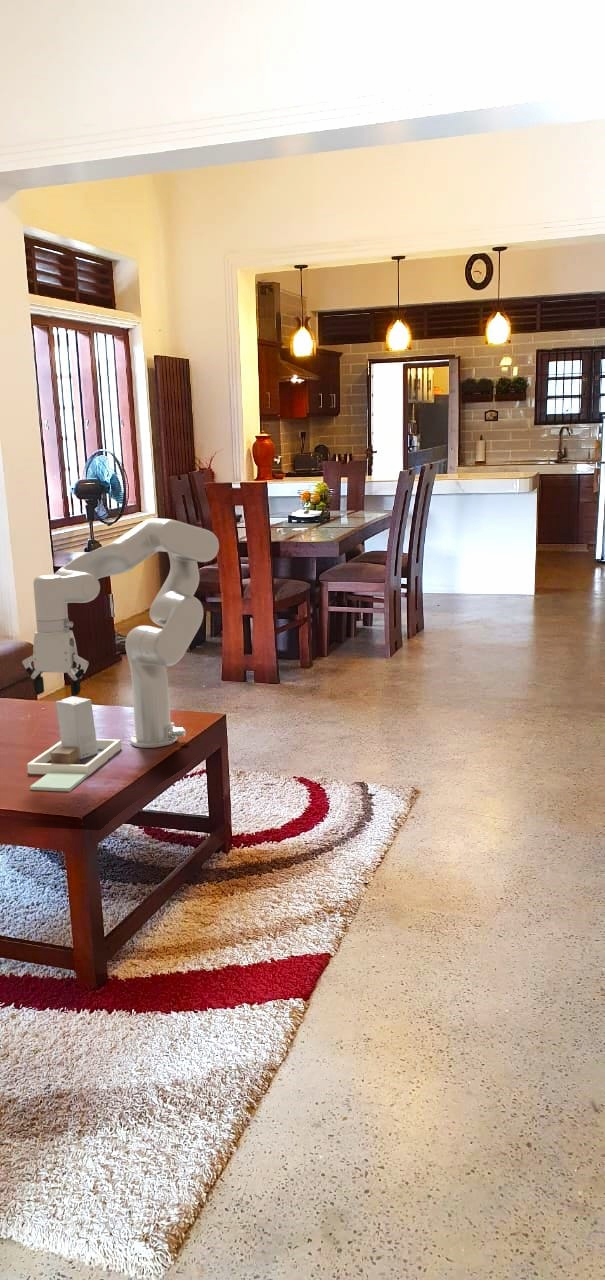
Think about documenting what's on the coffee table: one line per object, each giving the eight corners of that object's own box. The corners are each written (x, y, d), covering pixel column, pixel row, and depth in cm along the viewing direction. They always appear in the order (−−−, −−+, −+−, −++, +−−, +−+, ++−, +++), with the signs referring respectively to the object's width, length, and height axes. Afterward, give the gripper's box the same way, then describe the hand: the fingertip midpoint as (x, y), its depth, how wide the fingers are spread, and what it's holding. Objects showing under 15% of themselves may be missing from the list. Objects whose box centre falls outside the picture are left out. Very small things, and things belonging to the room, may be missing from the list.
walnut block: (79, 766, 241) (78, 747, 240) (71, 772, 236) (69, 753, 235) (61, 765, 242) (59, 746, 241) (52, 772, 237) (50, 753, 236)
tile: (87, 776, 233) (87, 773, 232) (69, 791, 223) (69, 788, 223) (49, 775, 235) (49, 772, 235) (30, 789, 225) (29, 786, 225)
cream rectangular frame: (121, 748, 253) (120, 739, 253) (88, 775, 233) (87, 766, 233) (65, 746, 257) (64, 738, 256) (28, 773, 236) (27, 764, 236)
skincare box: (98, 754, 249) (93, 699, 246) (79, 760, 245) (74, 704, 242) (79, 748, 255) (74, 694, 252) (60, 754, 250) (54, 699, 247)
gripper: (92, 624, 234) (96, 691, 237) (28, 622, 238) (33, 689, 241) (78, 629, 227) (83, 699, 230) (12, 628, 231) (18, 696, 234)
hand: (57, 694), depth 236 cm, fingers open, 9 cm apart
